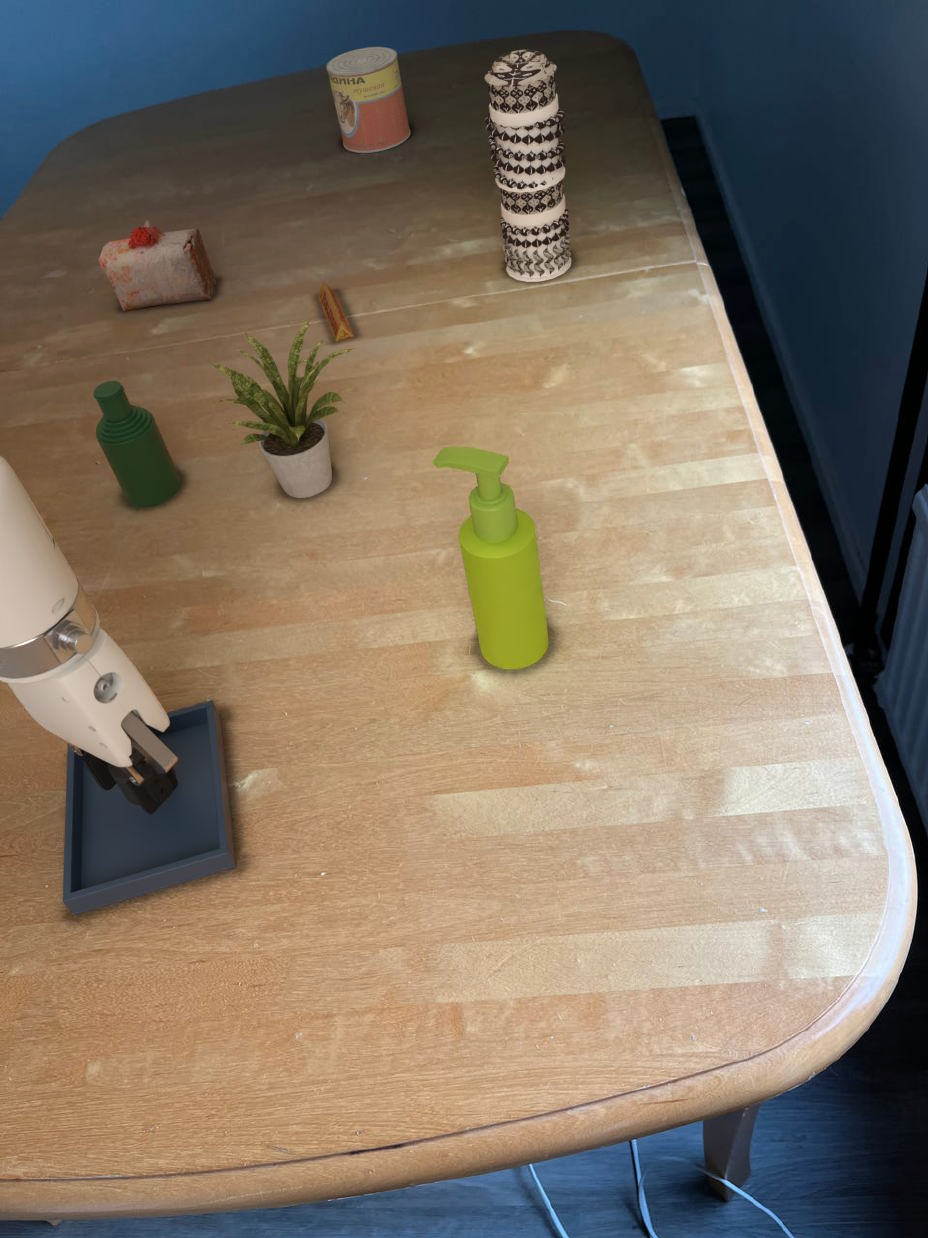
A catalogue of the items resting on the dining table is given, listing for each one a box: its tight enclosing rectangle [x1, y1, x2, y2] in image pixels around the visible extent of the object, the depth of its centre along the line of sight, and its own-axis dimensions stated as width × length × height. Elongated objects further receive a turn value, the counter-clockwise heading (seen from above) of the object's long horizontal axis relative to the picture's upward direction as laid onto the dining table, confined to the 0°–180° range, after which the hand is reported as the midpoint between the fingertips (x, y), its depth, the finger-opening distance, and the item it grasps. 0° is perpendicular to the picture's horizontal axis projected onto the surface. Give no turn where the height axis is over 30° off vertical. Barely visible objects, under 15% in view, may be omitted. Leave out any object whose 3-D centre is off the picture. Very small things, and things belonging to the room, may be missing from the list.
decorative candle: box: [484, 49, 572, 283], centre depth 122 cm, size 9×9×25 cm
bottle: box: [92, 380, 182, 508], centre depth 105 cm, size 6×6×13 cm
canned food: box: [325, 46, 412, 154], centre depth 164 cm, size 11×11×12 cm
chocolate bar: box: [317, 281, 354, 342], centre depth 129 cm, size 3×12×2 cm, turn 16°
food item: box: [98, 219, 217, 312], centre depth 137 cm, size 14×8×10 cm, turn 89°
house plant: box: [210, 318, 356, 499], centre depth 101 cm, size 14×14×16 cm
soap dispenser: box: [432, 446, 550, 670], centre depth 80 cm, size 6×7×20 cm
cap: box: [108, 750, 176, 806], centre depth 78 cm, size 4×4×3 cm
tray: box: [62, 699, 237, 916], centre depth 80 cm, size 15×12×2 cm
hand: (139, 785), depth 78 cm, fingers closed on cap, 4 cm apart
